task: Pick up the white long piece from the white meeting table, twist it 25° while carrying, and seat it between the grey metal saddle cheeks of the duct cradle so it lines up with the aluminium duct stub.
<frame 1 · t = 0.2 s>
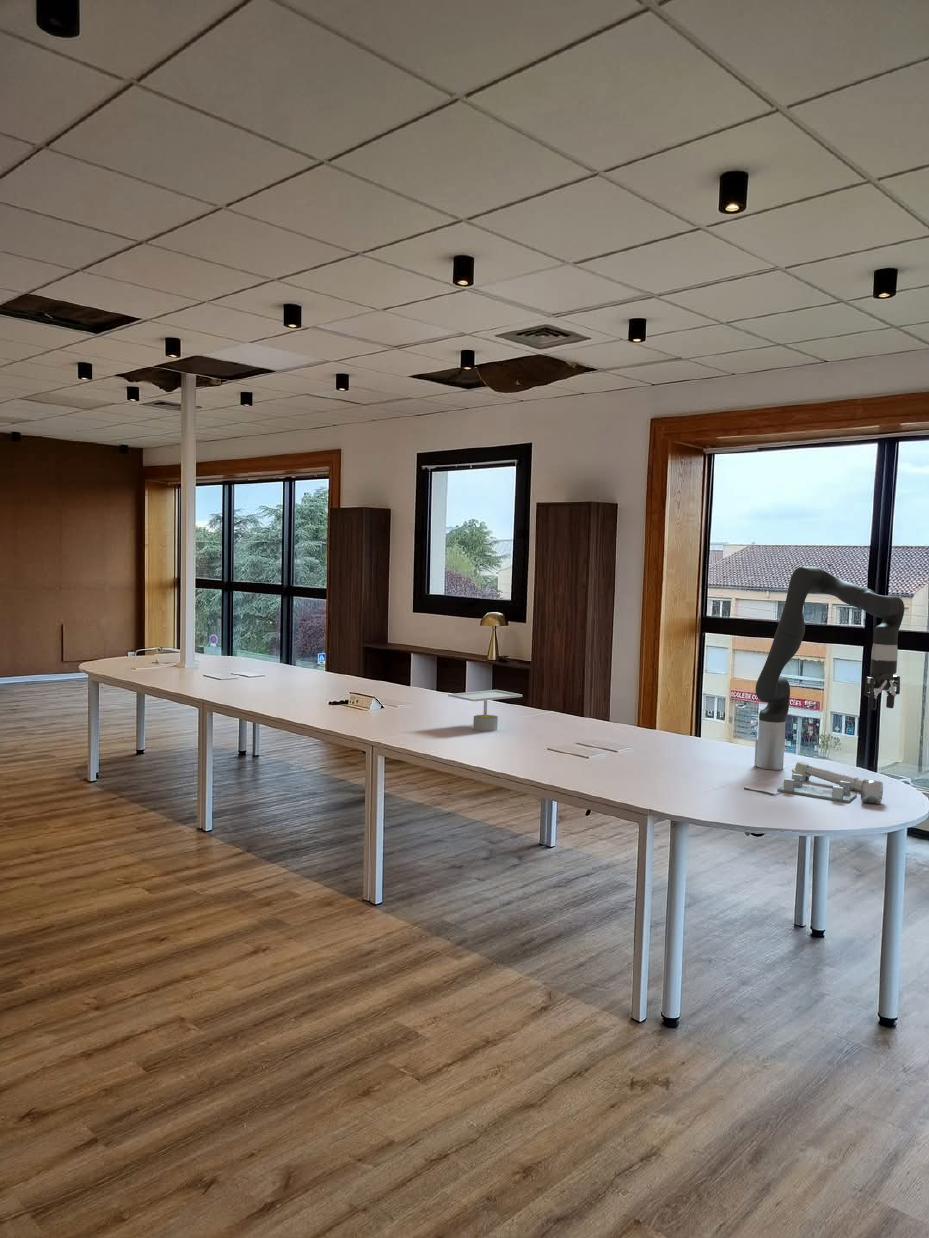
hand: (881, 708, 293), 28 cm above the table, tool pointing down, fingers open, 8 cm apart
white long piece: (828, 786, 309), on the table
grey flat rectangular-topped stand: (484, 729, 395), on the table
duct cradle: (816, 793, 296), on the table
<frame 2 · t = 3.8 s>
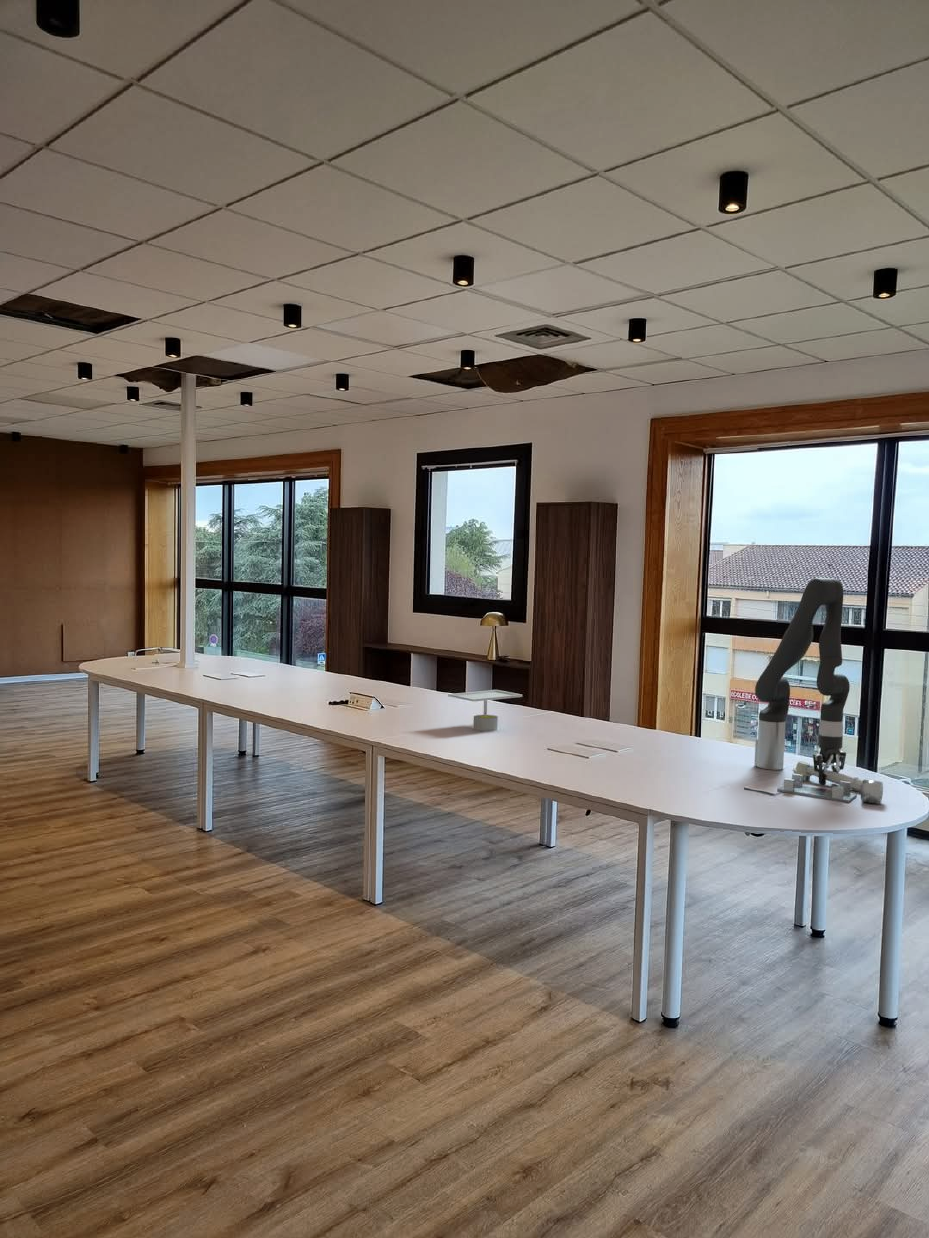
hand: (828, 783, 309), 1 cm above the table, tool pointing down, fingers closed on white long piece, 5 cm apart
white long piece: (828, 785, 309), on the table, touching gripper
everything else where it was.
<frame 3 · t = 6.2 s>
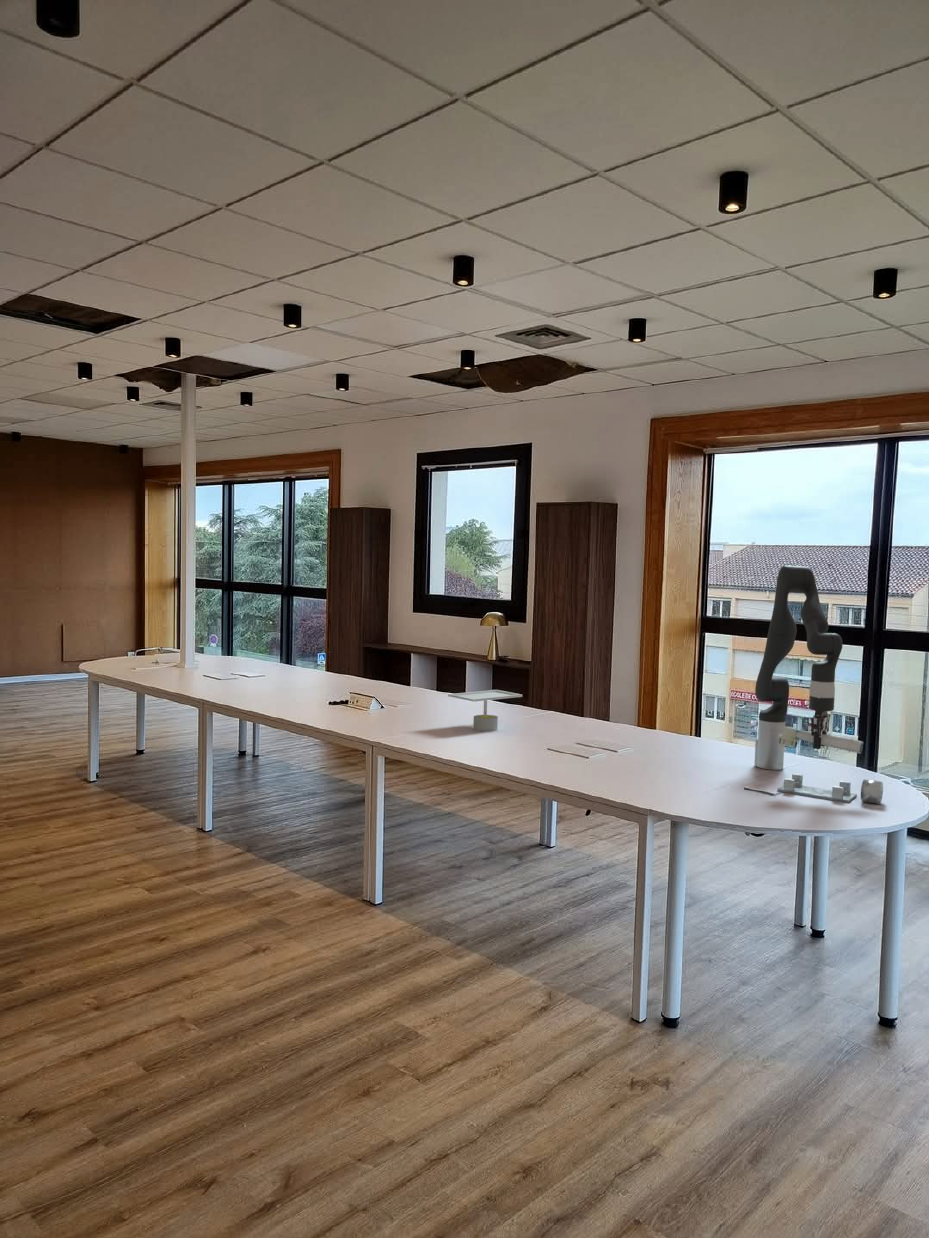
hand: (819, 747, 295), 15 cm above the table, tool pointing down, fingers closed on white long piece, 5 cm apart
white long piece: (819, 749, 295), point 14 cm above the table, touching gripper
everything else where it was.
when the fingers open (3 cm above the table, at t = 8.7 s): white long piece drops 1 cm, resting on duct cradle.
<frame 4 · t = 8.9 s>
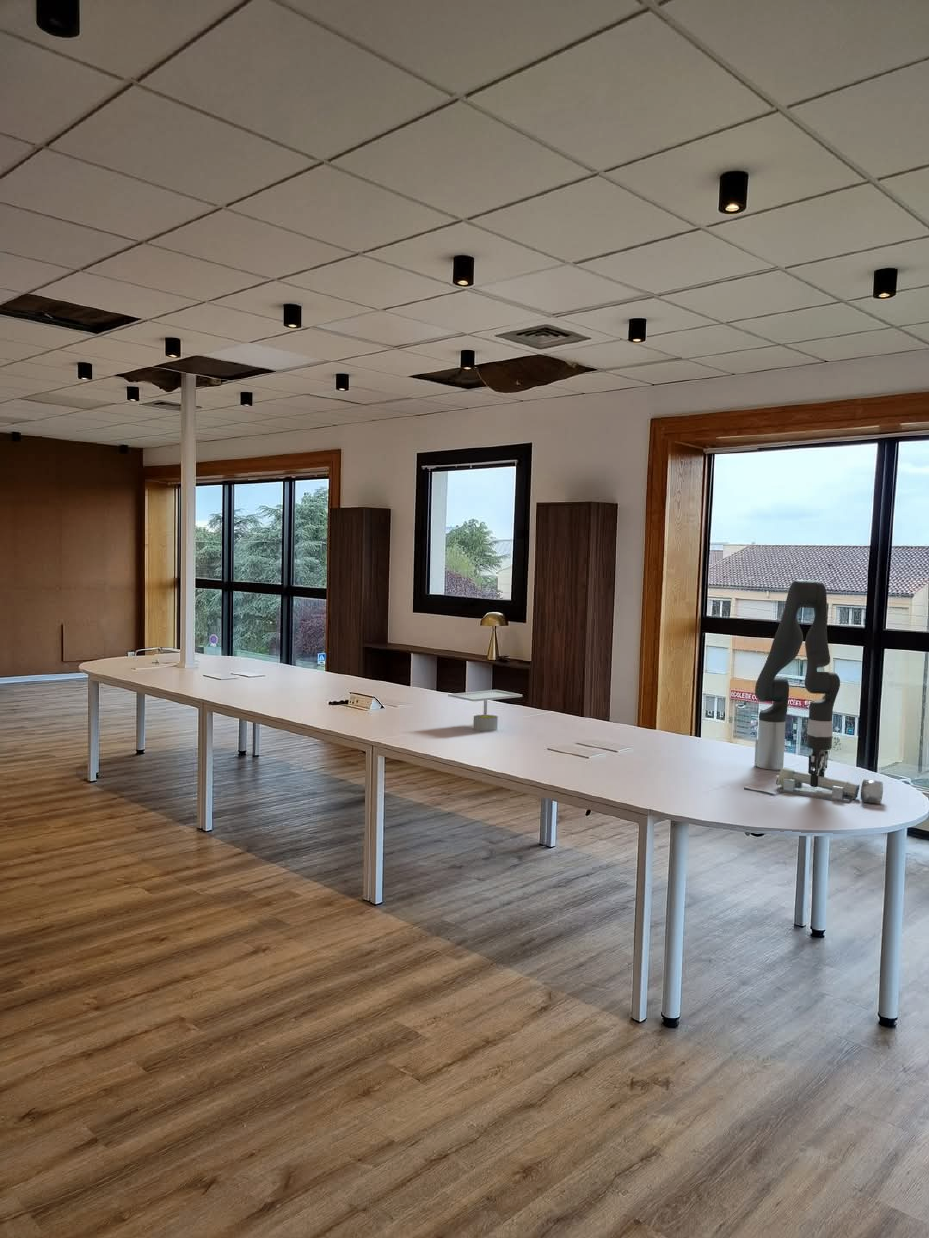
hand: (817, 784, 296), 3 cm above the table, tool pointing down, fingers open, 6 cm apart
white long piece: (816, 791, 296), point 1 cm above the table, touching duct cradle
everything else where it was.
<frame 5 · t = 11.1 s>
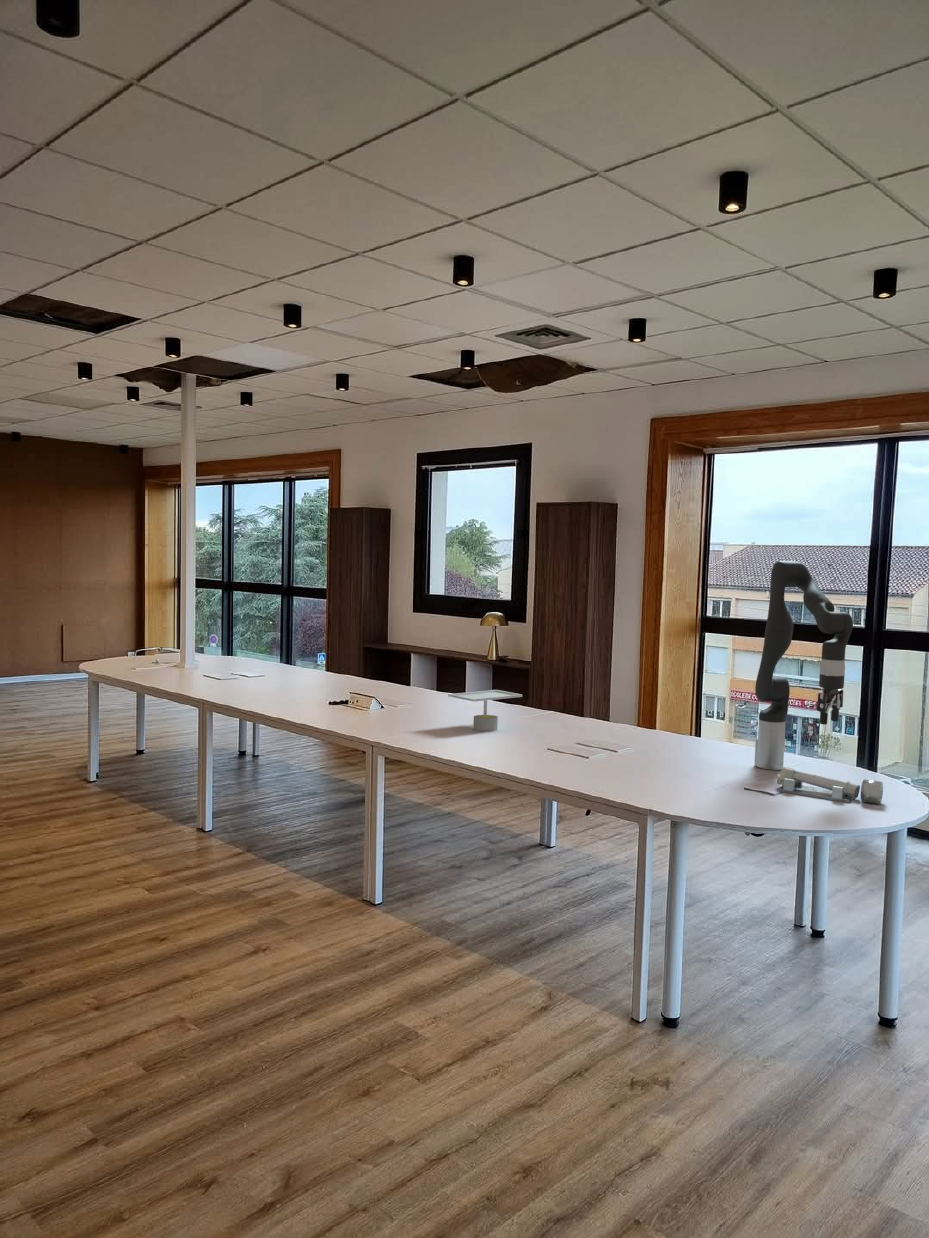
hand: (829, 722, 299), 23 cm above the table, tool pointing down, fingers open, 8 cm apart
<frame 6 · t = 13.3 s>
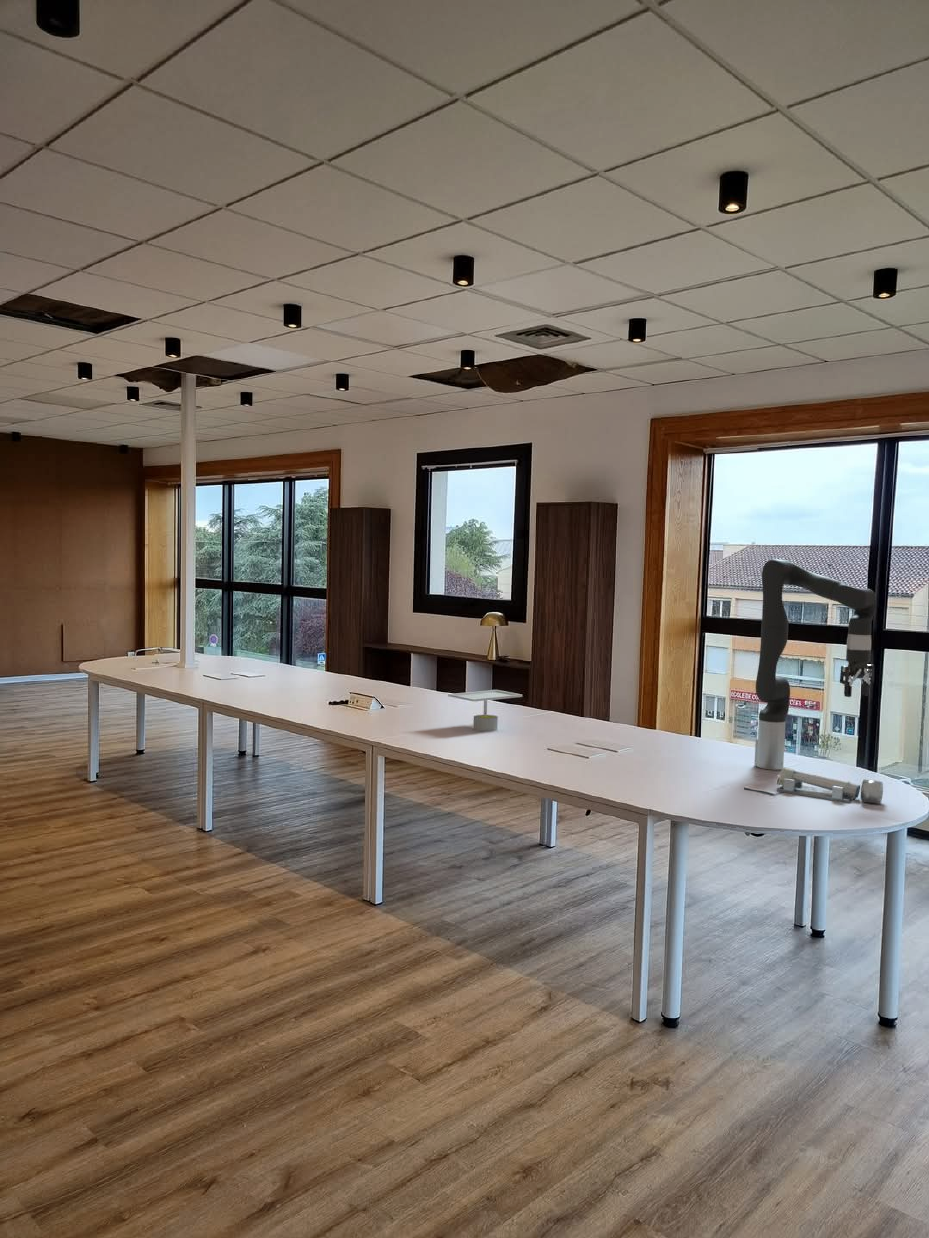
hand: (856, 696, 308), 30 cm above the table, tool pointing down, fingers open, 8 cm apart
nothing on the table moved.
at the end: white long piece inside the target area on the duct cradle (0.5 cm from its centre), point 0.6 cm above the duct cradle's base; white long piece touching duct cradle; the gripper is holding nothing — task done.
